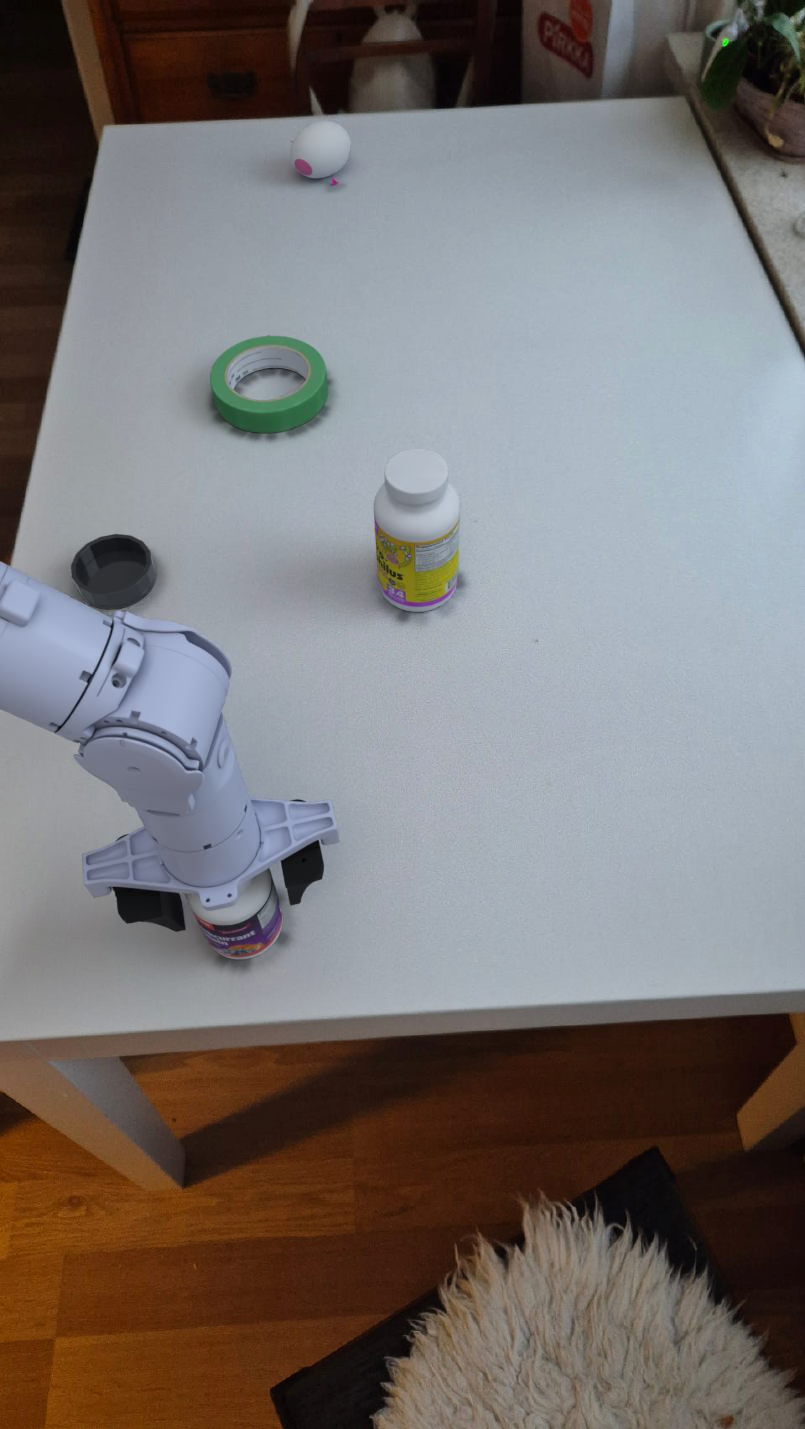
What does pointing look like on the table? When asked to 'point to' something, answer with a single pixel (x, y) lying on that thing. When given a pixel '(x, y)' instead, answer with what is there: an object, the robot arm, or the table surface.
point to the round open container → (113, 571)
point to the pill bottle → (243, 919)
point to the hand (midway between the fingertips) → (236, 903)
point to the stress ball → (320, 150)
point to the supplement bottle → (417, 531)
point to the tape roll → (276, 411)
